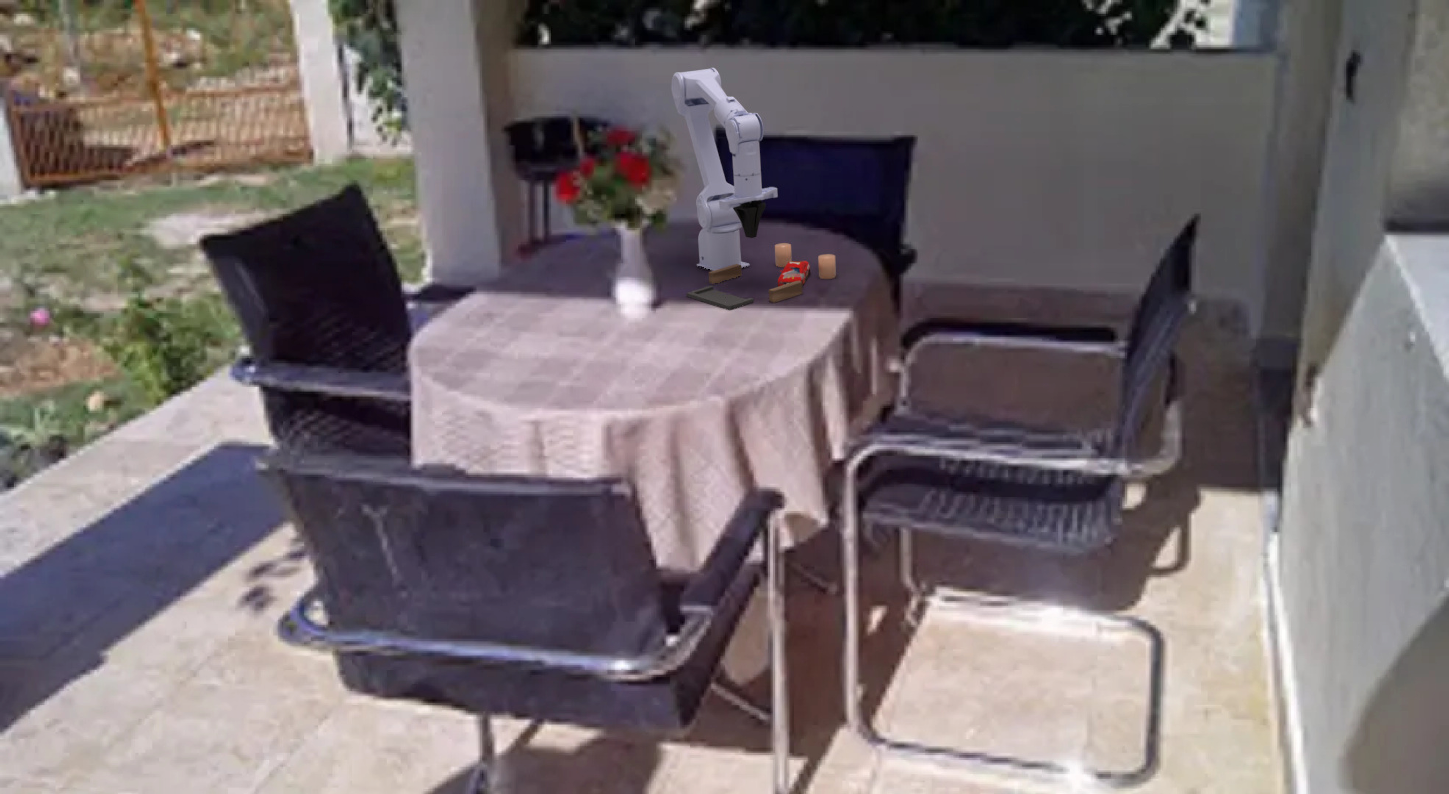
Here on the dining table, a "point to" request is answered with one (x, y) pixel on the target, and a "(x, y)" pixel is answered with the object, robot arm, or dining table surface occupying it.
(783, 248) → the peach rounded stick
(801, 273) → the race car
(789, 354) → the dining table surface
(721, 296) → the tray
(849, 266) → the dining table surface
